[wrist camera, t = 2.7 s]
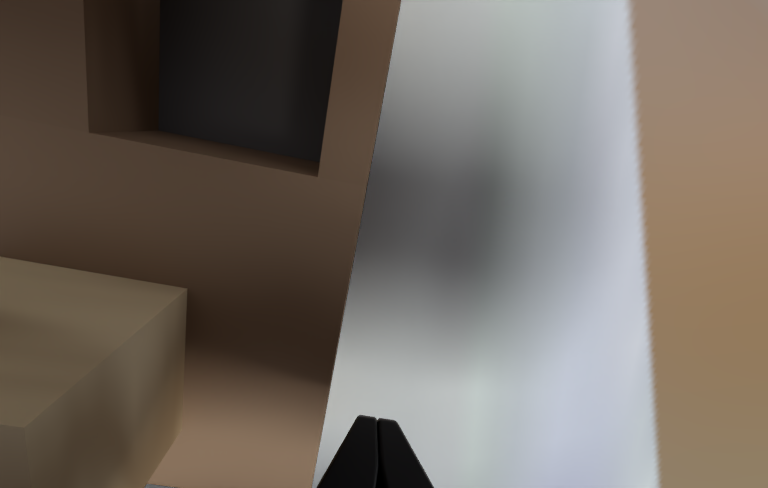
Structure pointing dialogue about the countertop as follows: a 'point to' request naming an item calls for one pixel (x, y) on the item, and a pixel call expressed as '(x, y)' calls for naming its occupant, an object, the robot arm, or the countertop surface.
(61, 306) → the maple block
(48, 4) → the trap box
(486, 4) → the countertop surface
